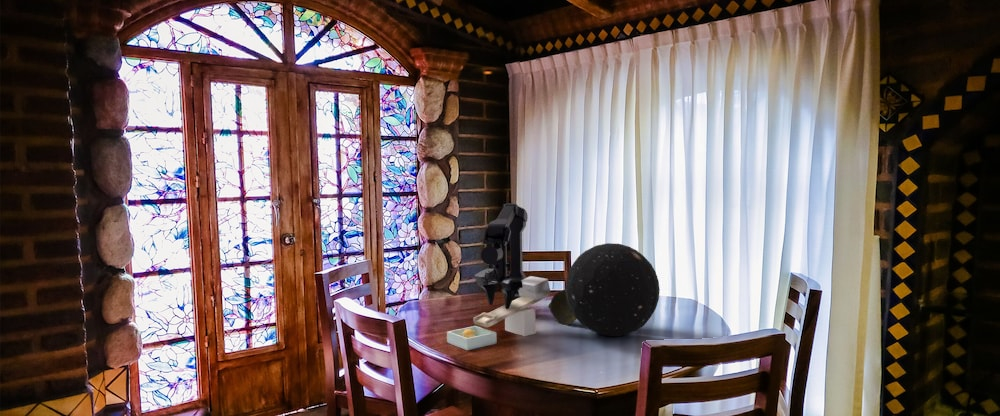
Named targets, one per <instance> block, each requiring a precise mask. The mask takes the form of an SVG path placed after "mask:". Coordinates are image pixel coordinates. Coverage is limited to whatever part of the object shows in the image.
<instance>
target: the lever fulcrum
mask: <svg viewBox="0 0 1000 416" xmlns="http://www.w3.org/2000/svg"><path fill="white" fill-rule="evenodd" d="M536 329H537V328H536V309H535V308H530V307H527V308H525V309H523V310H521V311H519V312H517V313H515V314H513V315H511V316H509V317H507V318H505V319H504V330H505V331H506V332H509V333H513V334H516V335H520V336H523V337H527V336H531V335H535V334H536V333H537V332H536Z"/></svg>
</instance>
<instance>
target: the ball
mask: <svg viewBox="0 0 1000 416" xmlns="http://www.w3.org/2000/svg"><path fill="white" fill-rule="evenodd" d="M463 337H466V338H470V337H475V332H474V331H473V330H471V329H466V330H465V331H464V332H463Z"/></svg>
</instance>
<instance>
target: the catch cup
mask: <svg viewBox="0 0 1000 416" xmlns="http://www.w3.org/2000/svg"><path fill="white" fill-rule="evenodd" d="M466 329H471V330H473V331H474V332H475V337H470V338H466V337H463V332H464V331H465V330H466ZM497 339H498V337H497V332H496V331H493V330H490V329H487V328H485V327H484V328H483V327H482V326H479V325H473V326H472V325H471V326H468V327H463V328H458V329H453V330H450V331H449V330H448V331H446V343H447V344H450V345H451V346H455V347H458V348H460V349H463V350H465V351H471V350H475V349H479V348H483V347H486V346H487V347H488V346H492V345H495V344H496V345H497Z"/></svg>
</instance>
